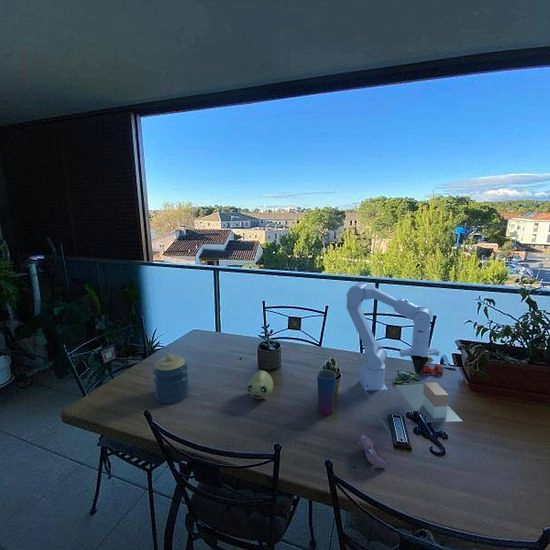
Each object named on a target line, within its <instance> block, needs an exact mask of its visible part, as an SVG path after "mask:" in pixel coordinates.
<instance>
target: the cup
mask: <svg viewBox="0 0 550 550" xmlns="http://www.w3.org/2000/svg"><path fill="white" fill-rule="evenodd" d="M316 378H317V379H316V381H317V405H318V413H319V414H320V415H322V416H325V417H329V416H332V414H333V412H334V411H333V410H334V401H335V391H336V390H335V389H336V383H337V373H336V372H335V371H333V370H331V369H320V370H318V371H317V373H316Z"/></svg>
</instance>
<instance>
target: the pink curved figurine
mask: <svg viewBox="0 0 550 550" xmlns="http://www.w3.org/2000/svg"><path fill="white" fill-rule="evenodd" d="M357 439H358V442H357V444H358V445H359V446H361V447H362V448H363V450H364V453H365V456H366V459H367V461H368V462H369V463H370V464H372V465H373V466H374V467H376V468H378V469H381V468H382V469H386V467H387V462H386V461H384V459H382V458H380V457H379V456H378V454H377V452H376V450H375V449H374V447H375V445H376V443H375V441H374V440H373V439H371V438H370V437H368V436H367V435H366V434H362V435H360V436H357Z"/></svg>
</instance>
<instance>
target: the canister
mask: <svg viewBox="0 0 550 550" xmlns="http://www.w3.org/2000/svg"><path fill="white" fill-rule="evenodd" d="M188 368H189V366H188V364H187V363H186V359H184V358H183V357H182V356H179V355H174V354H172V353H170V354H169V353H168V354H167V355H166V356H164V357H162V358H159V360H157V361H156V362H155V363H154V368H153V370H152V374H153V375H154V377H153V383H154V396H155V399H156V402H158V403H160V404H162V405H173V404H177V403H179V402H182V401H184V400H185V399H186V398H187V397H188V396H189V393H190V386H189V372H188V371H187V369H188Z"/></svg>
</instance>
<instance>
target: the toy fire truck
mask: <svg viewBox="0 0 550 550" xmlns="http://www.w3.org/2000/svg"><path fill="white" fill-rule="evenodd" d="M427 357H428V358H429V360H428V362H427V363H426V364H425V365H424V367H423V369H422V371H421V374H419V375H420V376H421V375H425V376H443V374H444V368H443V366H442V365H441V364H438V363H435V364H434V368H433V367H430V366H429V365H430V364H431V363H432V362H434V359H433V358H432V357H431V356H429V355H427Z"/></svg>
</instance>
